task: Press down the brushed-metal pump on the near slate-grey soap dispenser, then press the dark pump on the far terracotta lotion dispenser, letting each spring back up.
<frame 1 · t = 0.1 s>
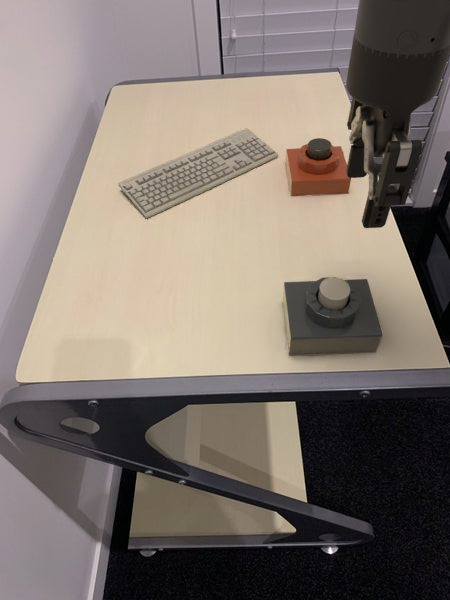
hand: (363, 199, 46), 18 cm above the table, tool pointing down, fingers open, 8 cm apart
soap pump: (333, 293, 52), point 7 cm above the table, slide at 0.1 cm
keyboard: (201, 174, 81), on the table
lotion pump: (319, 149, 74), point 6 cm above the table, slide at 0.1 cm
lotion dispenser: (315, 177, 78), on the table
soap dispenser: (326, 325, 57), on the table
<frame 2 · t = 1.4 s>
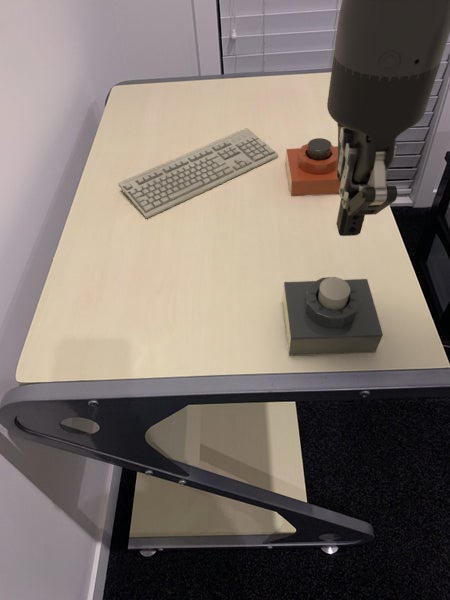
hand: (347, 230, 44), 17 cm above the table, tool pointing down, fingers closed
nothing on the table moved.
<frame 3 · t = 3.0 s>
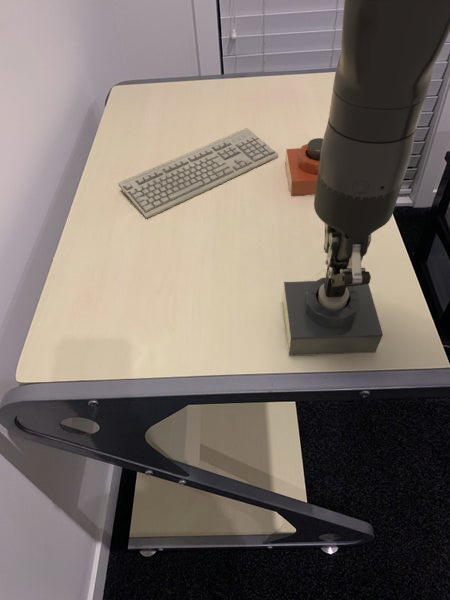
hand: (333, 292, 52), 7 cm above the table, tool pointing down, fingers closed
soap pump: (332, 297, 53), point 6 cm above the table, slide at -0.7 cm, touching gripper
everything else where it was.
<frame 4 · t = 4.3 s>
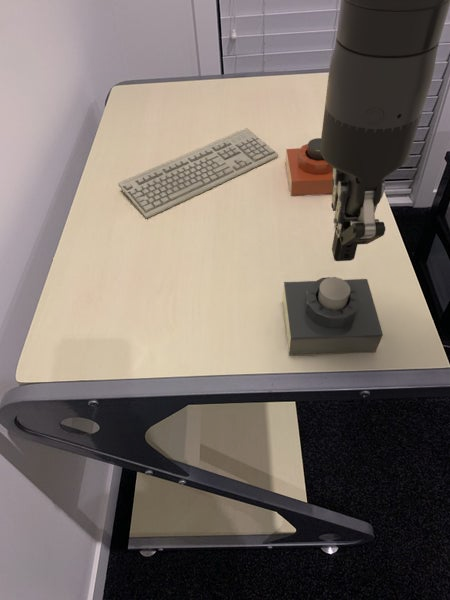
hand: (342, 256, 47), 13 cm above the table, tool pointing down, fingers closed
soap pump: (333, 293, 52), point 7 cm above the table, slide at 0.1 cm
everything else where it was.
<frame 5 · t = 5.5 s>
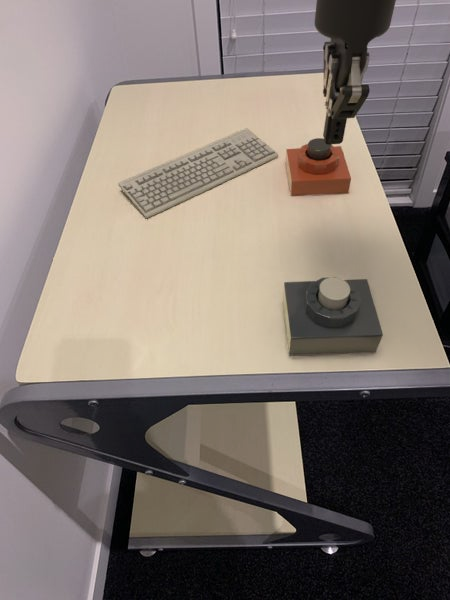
hand: (332, 140, 54), 17 cm above the table, tool pointing down, fingers closed
nothing on the table moved.
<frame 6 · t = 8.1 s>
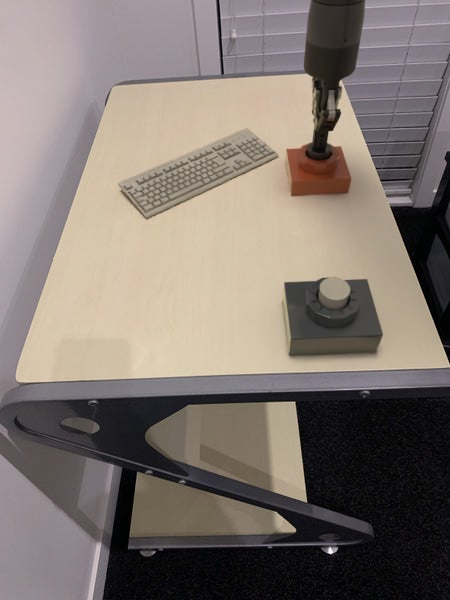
hand: (319, 147, 73), 6 cm above the table, tool pointing down, fingers closed
lotion pump: (318, 152, 74), point 5 cm above the table, slide at -0.5 cm, touching gripper
everything else where it was.
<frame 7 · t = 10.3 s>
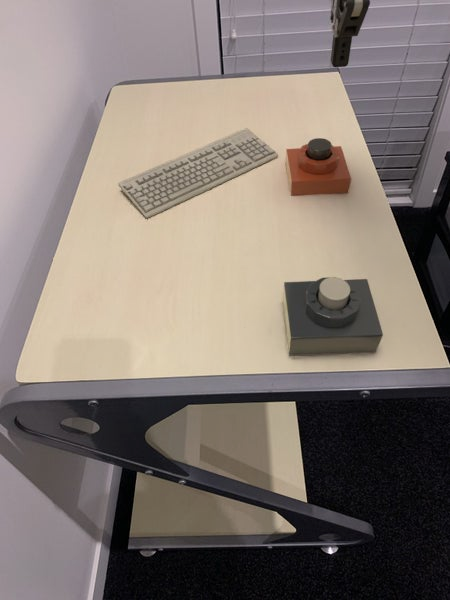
hand: (338, 64, 60), 21 cm above the table, tool pointing down, fingers closed
lotion pump: (319, 149, 74), point 6 cm above the table, slide at 0.1 cm
everything else where it was.
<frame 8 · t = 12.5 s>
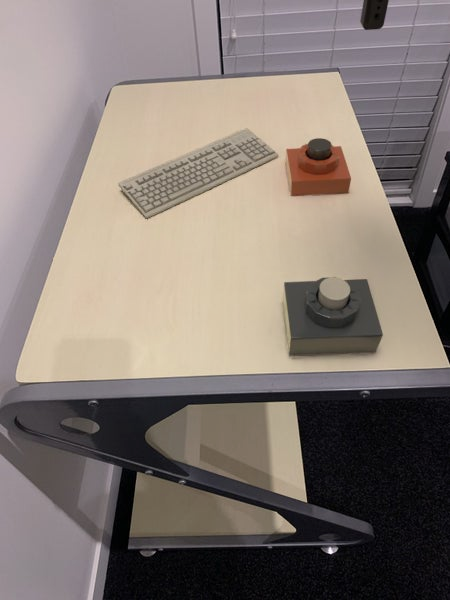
hand: (371, 26, 47), 29 cm above the table, tool pointing down, fingers closed
nothing on the table moved.
at the end: soap pump pushed in 1.3 cm at the most during the clip, back to where it started at the end; lotion pump pushed in 1.3 cm at the most during the clip, back to where it started at the end; lotion pump slide at 0.1 cm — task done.
